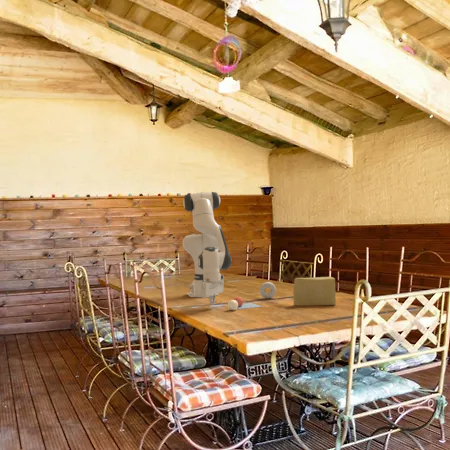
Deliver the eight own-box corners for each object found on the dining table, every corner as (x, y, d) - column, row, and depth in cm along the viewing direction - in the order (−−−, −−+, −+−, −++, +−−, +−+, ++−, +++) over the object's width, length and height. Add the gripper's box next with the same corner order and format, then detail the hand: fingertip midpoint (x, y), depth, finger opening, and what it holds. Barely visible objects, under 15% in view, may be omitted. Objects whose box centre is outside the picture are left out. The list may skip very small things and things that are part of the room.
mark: (228, 305, 285) (228, 305, 285) (250, 303, 291) (250, 302, 291) (239, 309, 272) (239, 308, 272) (262, 306, 278) (262, 306, 278)
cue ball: (240, 308, 270) (235, 301, 274) (239, 303, 266) (234, 296, 270) (231, 314, 269) (226, 307, 273) (230, 308, 265) (225, 301, 269)
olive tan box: (295, 307, 275) (294, 279, 275) (292, 304, 285) (291, 277, 284) (336, 305, 276) (335, 277, 275) (332, 302, 285) (331, 275, 285)
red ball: (231, 296, 281) (240, 295, 283) (231, 306, 281) (240, 305, 283) (235, 298, 276) (244, 297, 278) (235, 308, 276) (244, 307, 278)
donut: (259, 299, 304) (259, 282, 304) (259, 298, 307) (259, 281, 307) (276, 298, 304) (276, 282, 304) (276, 297, 307) (275, 281, 307)
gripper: (207, 280, 263) (208, 307, 263) (225, 275, 281) (226, 300, 281) (196, 280, 266) (197, 306, 266) (215, 275, 284) (216, 299, 284)
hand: (212, 303), depth 274 cm, fingers closed
